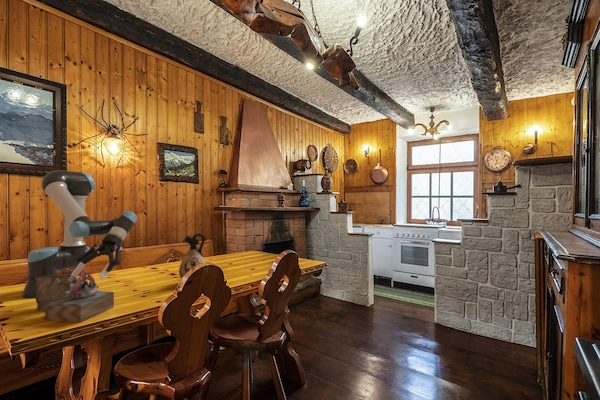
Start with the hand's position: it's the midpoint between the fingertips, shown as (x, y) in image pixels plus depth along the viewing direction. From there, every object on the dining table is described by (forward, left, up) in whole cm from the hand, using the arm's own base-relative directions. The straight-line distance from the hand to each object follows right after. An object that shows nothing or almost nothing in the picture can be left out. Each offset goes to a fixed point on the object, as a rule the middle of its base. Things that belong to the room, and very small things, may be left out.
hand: (87, 277), depth 126 cm
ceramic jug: (+23, +50, -15) cm, 57 cm away
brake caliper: (-1, -1, -8) cm, 8 cm away
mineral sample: (-18, +3, -15) cm, 24 cm away
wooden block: (-1, -2, -15) cm, 15 cm away
